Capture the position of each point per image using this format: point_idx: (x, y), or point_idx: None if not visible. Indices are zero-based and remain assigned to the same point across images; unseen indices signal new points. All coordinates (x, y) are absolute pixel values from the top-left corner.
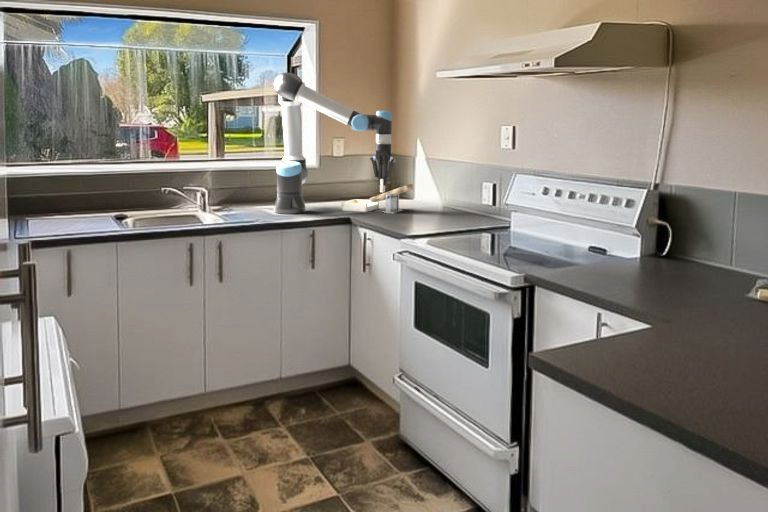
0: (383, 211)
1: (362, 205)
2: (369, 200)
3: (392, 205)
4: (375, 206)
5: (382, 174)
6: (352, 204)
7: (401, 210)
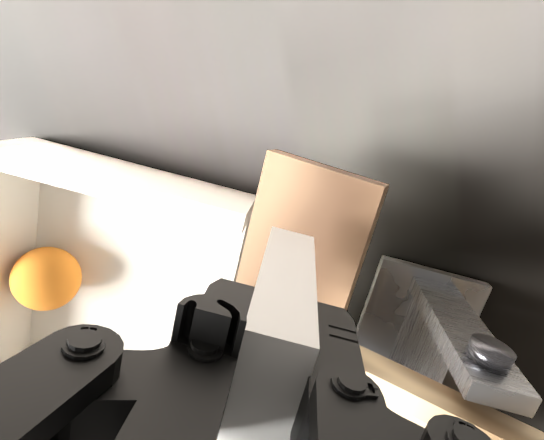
0: None
1: None
2: (149, 209)
3: None
4: (239, 264)
5: (221, 416)
6: None
7: (479, 306)
